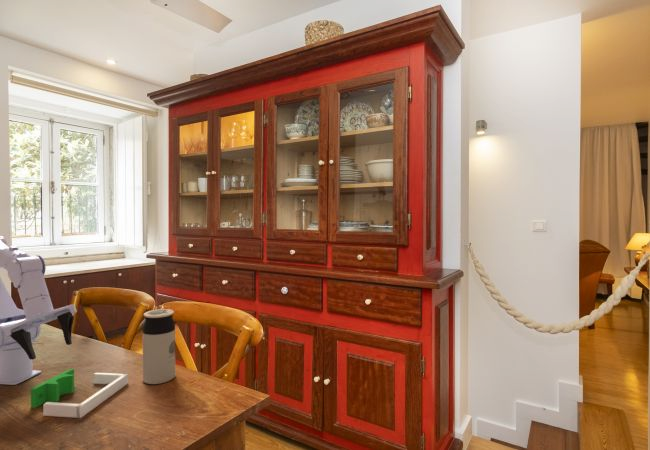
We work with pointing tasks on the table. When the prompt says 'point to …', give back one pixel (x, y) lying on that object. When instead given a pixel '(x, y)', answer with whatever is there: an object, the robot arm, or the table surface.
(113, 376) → the white u-shaped frame
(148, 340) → the travel mug
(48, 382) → the pipe clamp
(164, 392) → the table surface
